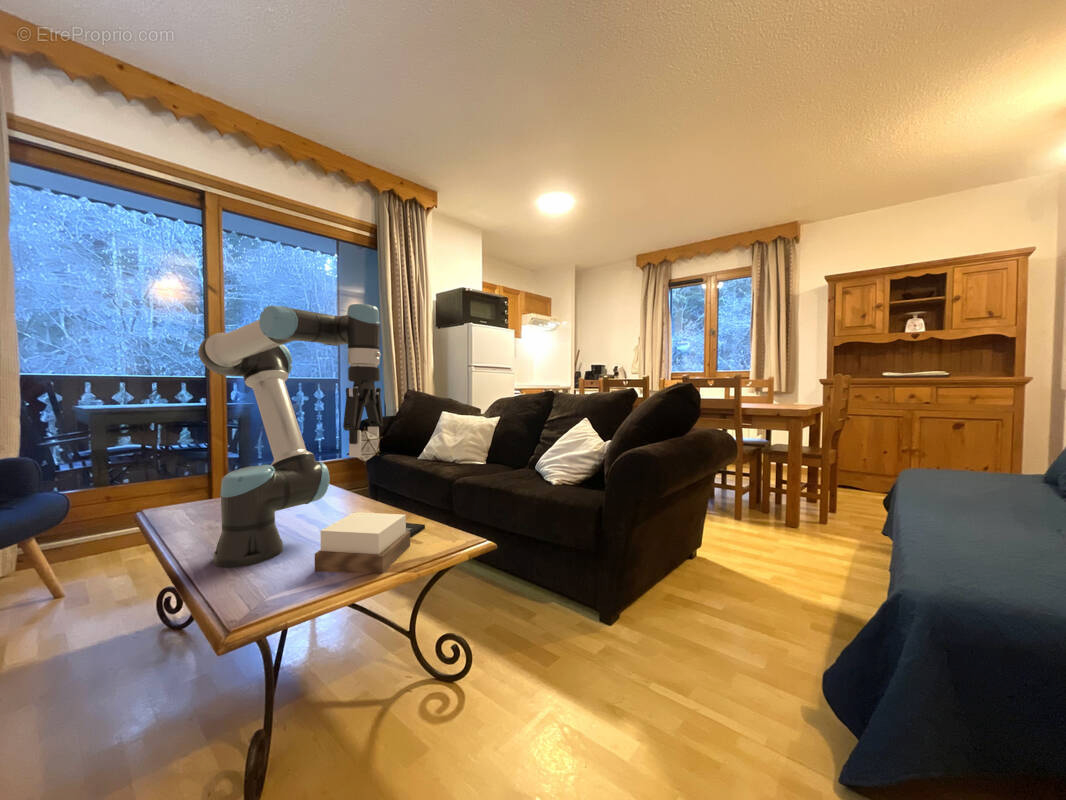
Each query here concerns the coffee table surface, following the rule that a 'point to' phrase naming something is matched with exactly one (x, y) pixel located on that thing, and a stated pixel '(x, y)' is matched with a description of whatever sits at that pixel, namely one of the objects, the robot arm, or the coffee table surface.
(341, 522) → the cream slab
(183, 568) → the coffee table surface
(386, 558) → the walnut slab
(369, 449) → the game die
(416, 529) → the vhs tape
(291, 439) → the robot arm
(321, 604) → the coffee table surface
